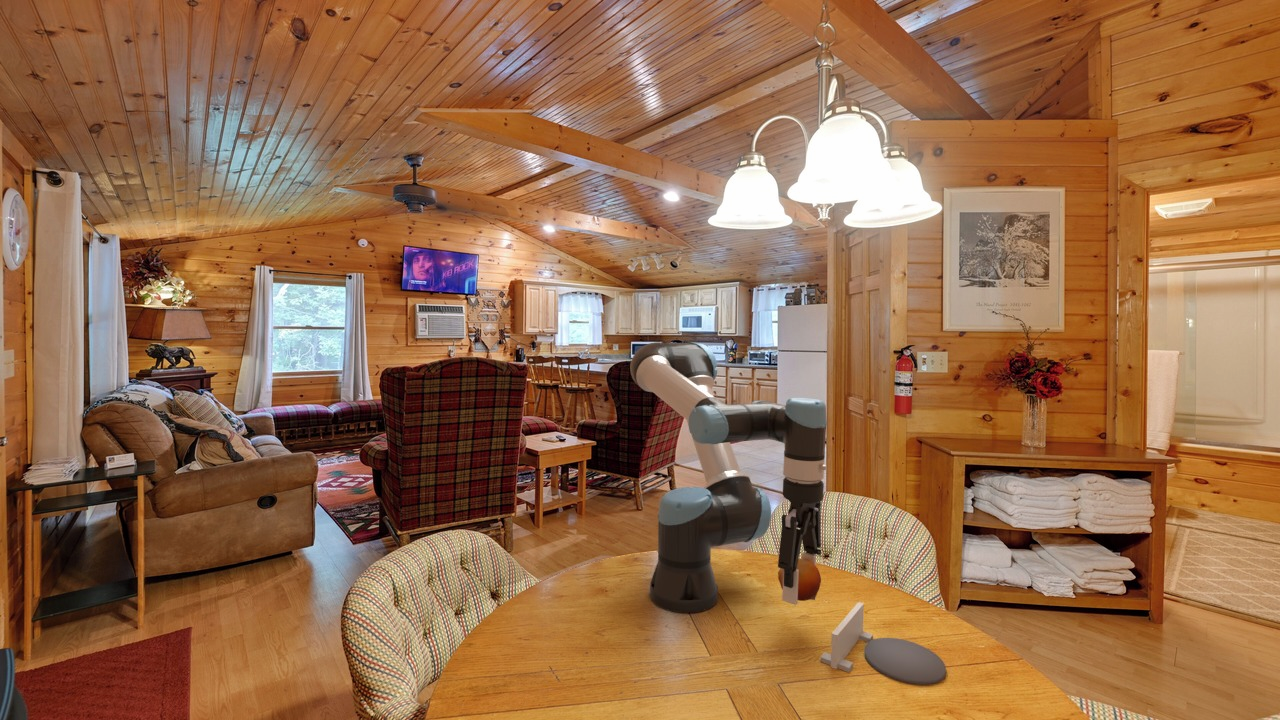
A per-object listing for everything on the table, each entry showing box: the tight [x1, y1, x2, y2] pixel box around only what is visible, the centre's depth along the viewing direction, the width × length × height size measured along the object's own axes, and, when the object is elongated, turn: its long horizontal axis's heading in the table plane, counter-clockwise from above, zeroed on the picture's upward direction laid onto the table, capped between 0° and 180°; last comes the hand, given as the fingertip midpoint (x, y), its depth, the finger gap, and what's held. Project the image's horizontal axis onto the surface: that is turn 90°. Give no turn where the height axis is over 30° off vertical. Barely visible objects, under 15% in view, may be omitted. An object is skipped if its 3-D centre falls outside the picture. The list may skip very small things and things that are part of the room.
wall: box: [820, 601, 874, 673], centre depth 100 cm, size 5×15×6 cm, turn 141°
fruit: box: [777, 558, 822, 602], centre depth 105 cm, size 8×8×8 cm
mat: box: [863, 637, 947, 686], centre depth 96 cm, size 13×13×1 cm
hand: (798, 593), depth 105 cm, fingers closed on fruit, 8 cm apart
